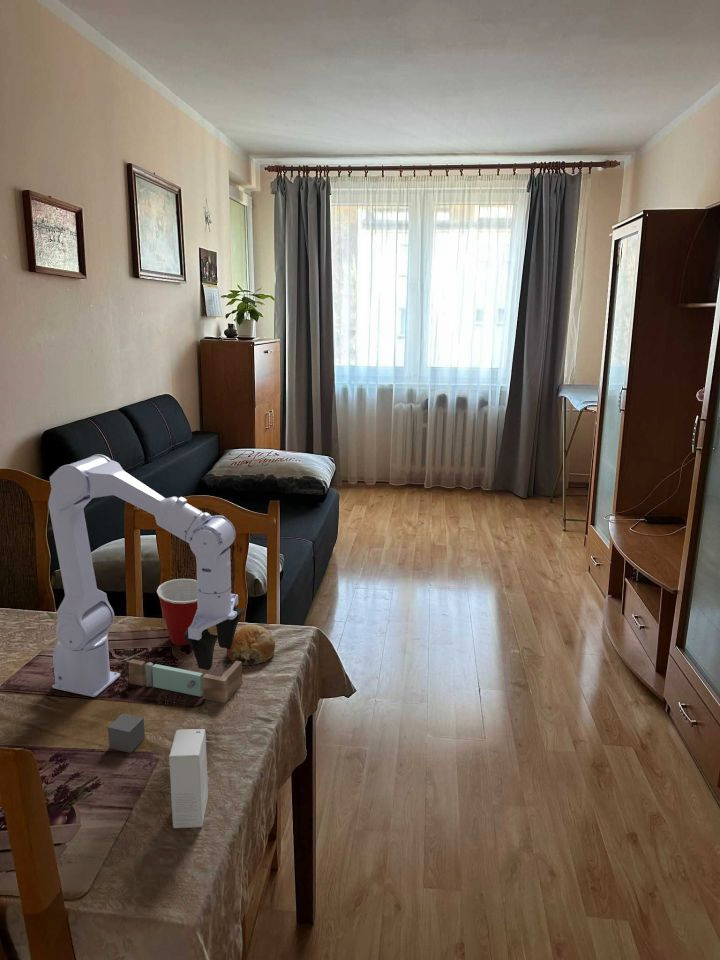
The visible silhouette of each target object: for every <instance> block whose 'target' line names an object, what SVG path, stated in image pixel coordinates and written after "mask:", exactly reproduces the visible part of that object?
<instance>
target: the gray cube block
mask: <svg viewBox="0 0 720 960" xmlns="http://www.w3.org/2000/svg"><path fill="white" fill-rule="evenodd" d="M107 731H108V733H107V734H108V746H109V747H108V748H109V749H113V750H117V751H121V752H125V753H130V754H131V753H133V751H134V750H135V749H136V748H137V747H138V746H139V745H140V744H142V742H143V741H144V740H145V739H144V738H146V736H145V735H146V734H145V718H144V717H143V716H142V717H141V716H136V715H132V714H128V713H124V712H123V713H122V714H120V715H119V716H118V717H117V718H116V719H115V720H113V722H112V723H111V724H110V725H109V726H107ZM143 739H144V740H143ZM142 740H143V741H142Z"/></svg>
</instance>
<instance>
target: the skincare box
mask: <svg viewBox="0 0 720 960" xmlns="http://www.w3.org/2000/svg"><path fill="white" fill-rule="evenodd" d="M206 735H207V733H206V729H205V728H197V729H195V728H194V729H193V728H191V729H176V730H175V733H174V738H173V741H172V745H171V748H170V753H169V756H168V757H169V758H168V759H169V760H168V761H169V762H168V763H169V778H170V779H169V780H170V797H171V798H170V799H171V814H172V815H171V817H172V828H174V829H186V828H188V829H189V828H192V829H193V828H202V827H203V825H204V819H205V816H206V815H205V814H206V810H207V803H208V799H209V791H208V787H209V786H208V785H209V784H208V766H207V765H208V764H207V761H208V759H207V737H206Z"/></svg>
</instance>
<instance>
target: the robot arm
mask: <svg viewBox="0 0 720 960" xmlns="http://www.w3.org/2000/svg"><path fill="white" fill-rule="evenodd" d="M49 483H50V488H51V489H50V494H49V498H48V509H49V515H50V520H51V521H50V522H51V526H52V527H51V528H52V531H53V536H54V541H55V547H56V553H57V554H56V555H57V558H58V564H59V565H58V566H59V569H60V575H61V581H62V586H63V590H64V597H63V600H62V601H61V603H60V604H59V607H58V609H57V611H56V618H57V622H56V626H55V635H56V638H57V640H58V641H57V642H56V644H55V646H54V648H53V652H52V663H53V674H54V680H55V681H54V684H52V689H56V690H60V691H65V692H68V693H69V692H70V693H74V694H79V695H82V696H88V697H91V698H96V697H97V696H99V694H101V693H102V692H103V691H104V690H106V689H107V688H108V687H109V686H110V685H111V684H113V683H114V682H115V681H117V679H118V678H120V677H121V673H120V672H116V671H115V672H114V671H111V668H110V655H109V654H110V653H109V651H110V650H109V640H108V636H109V634H110V633H109V632H110V631H109V628H110V627H111V626H112V625H113V624H114V621H115V612H114V609H113V607H112V606H111V604H110V602H109V600H108V596H107V595H108V594H107V593H106V592H104V591H102V590H101V589H98V586H97V581H96V576H95V569H94V564H93V557H92V551H91V547H90V546H91V545H90V539H89V534H88V528H87V522H86V518H85V517H86V516H85V510H84V509H85V507H86V506H87V505H88V504H89V502H91V500H92V499H94V498H96V499H97V498H103V497H108V496H115V497H117V498H119V499H121V500H123V501H125V502H126V503H128V504H131V505H133V506H134V507H137V508H138V509H140V510H142V511H145V512H147V513H149V514H151V515H153V516H154V518H155V523H156V525H157V526H158V527H160V528H162V529H163V530H166V531H167V532H169V533H170V534H172V535H173V536H176V537H177V538H179V539H180V540H183V541H184V542H186V543H188V545H189V547H190V548H189V549H190V551H191V552H192V554H194V556H195V561H196V562H195V563H196V580H197V602H198V609H197V611H196V614H195V617H194V619H193V622H192V624H191V626H190V627H189V628H188V630H187V631H186V632H185V633H184V638H185V640H186V641H187V642H188V643H189V644H188V645H189V647H190V648H191V650H192V652H193V655H194V658H195V660H196V664H197V667H198V669H201V670H206V671H210V670H211V669H212V667H213V666H212V665H213V660H214V651H215V646H216V643H217V642H218V647H219V648H221V649H226V650H227V649H230V648H231V646H232V643H233V639H234V634H235V632H236V631H237V627H238V623H239V622H240V619H241V618H242V616H243V614H244V610H243V609H242V608H240V607H237V606H238V605H239V595H238V594H235V593H232V588H231V587H232V579H231V578H232V573H231V571H232V570H231V566H232V565H231V547H230V546H231V545H233V543H234V542H235V539H236V534H237V532H236V529H235V526H234V524H233V523H232V522H231V520H229V519H228V518H226V516H224V515H217V514H216V515H211V514H210V513H208V512H203V511H202V510H200V509H198V508H197V507H195V506H193V505H191V504H189V503H188V499H186V498H185V497H183V496H180V497H177V496H171V497H164V496H163V495H162V494H160V493H158V492H157V491H155V489H152V488H150V487H149V486H147V484H144V483H143V482H142V481H140V480H138V479H137V478H135V477H134V476H132V475H131V474H130V473H128V472H126V471H125V470H124V469H123V467H122V466H121V464H120V463H119V462H117V461H116V460H112V459H111V458H110V457H108V456H106V455H104V454H100V453H99V454H98V453H97V454H93V455H91V456H89V457H87V458H84V459H81V460H78V461H76V462H75V461H74V462H72V463H70V464H64V465H62V466H60V467H58V468H57V469H56V470H55V471H54V472H53V473H52V474H51V475H50V476H49ZM213 626H215V628H216V634H213V633H211V631H209V628H212V627H213Z"/></svg>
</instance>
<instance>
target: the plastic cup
mask: <svg viewBox="0 0 720 960" xmlns="http://www.w3.org/2000/svg"><path fill="white" fill-rule="evenodd" d="M156 593H157V595H158V598H159V600H160V604H161V606H162V611H163V616H164V621H165V624H166V628H167V632H168V636H169V639H170V641H171V643H172V644H174V645H176V646H177V645H178V646H186V645H189V643H188V642H187V641H186V640H185V638H184V633H185V632H186V631H187V630H188V628H189V627H190V626H191V624H192V622H193V619H194V617H195V614H196V611H197V609H198V602H197V579H193V578H177V579H176V578H175V579H172V580H168V581H165V582H163V583H161V584H159V586H158V587H157V590H156Z"/></svg>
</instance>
